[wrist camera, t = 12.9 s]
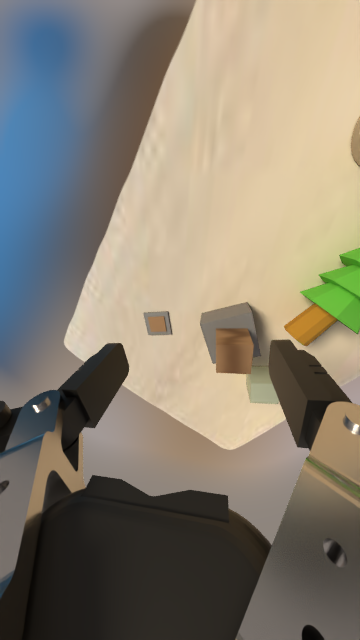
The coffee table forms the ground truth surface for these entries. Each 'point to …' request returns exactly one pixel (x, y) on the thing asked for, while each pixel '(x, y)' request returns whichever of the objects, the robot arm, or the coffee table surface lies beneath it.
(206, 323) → the base block
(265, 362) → the coffee table surface
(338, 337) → the coffee table surface
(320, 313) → the decorative tree
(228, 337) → the walnut cube
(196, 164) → the coffee table surface
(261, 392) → the sage cube
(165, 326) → the card
